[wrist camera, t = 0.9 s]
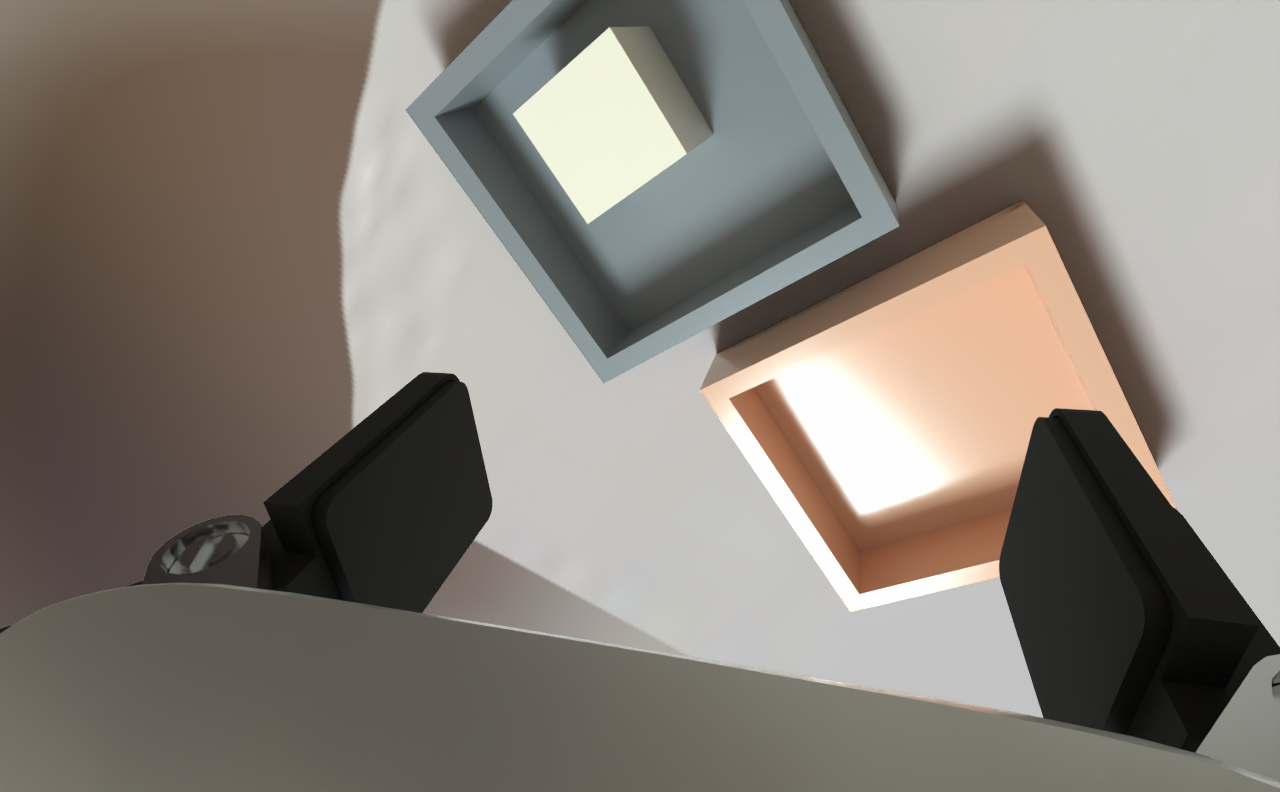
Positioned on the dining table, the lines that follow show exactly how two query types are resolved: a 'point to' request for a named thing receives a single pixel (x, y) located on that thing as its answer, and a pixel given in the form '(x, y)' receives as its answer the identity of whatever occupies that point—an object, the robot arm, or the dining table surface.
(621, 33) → the stone block
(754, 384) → the tub
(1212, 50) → the dining table surface
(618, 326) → the bin
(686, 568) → the dining table surface
